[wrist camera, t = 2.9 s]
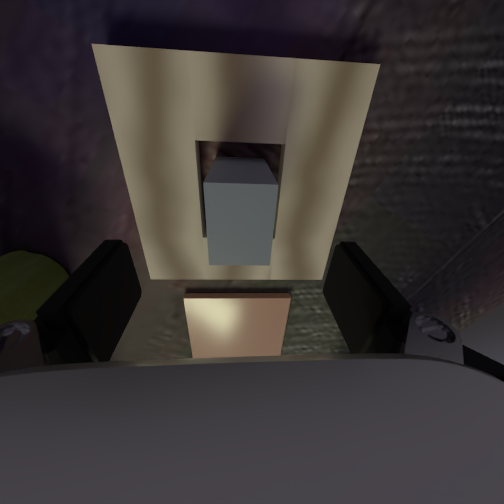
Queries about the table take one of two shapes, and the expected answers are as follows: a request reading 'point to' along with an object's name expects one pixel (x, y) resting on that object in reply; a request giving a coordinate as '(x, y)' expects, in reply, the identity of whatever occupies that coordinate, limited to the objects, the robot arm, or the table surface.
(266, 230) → the block
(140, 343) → the table surface
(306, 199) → the holder
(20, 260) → the plant pot
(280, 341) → the tile
